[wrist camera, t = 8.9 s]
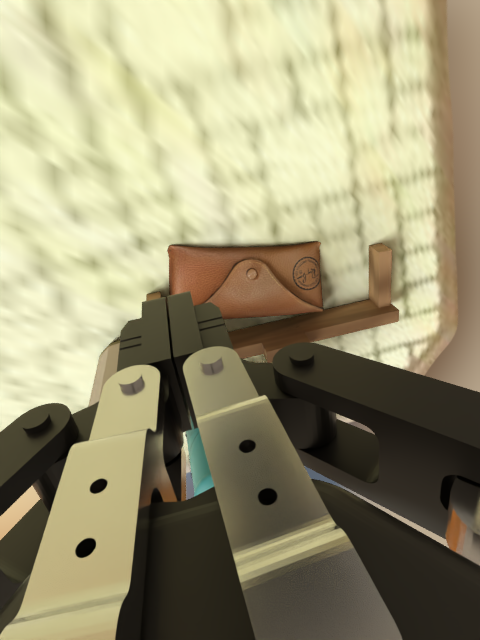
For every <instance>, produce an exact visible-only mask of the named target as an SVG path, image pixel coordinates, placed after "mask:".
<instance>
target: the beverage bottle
mask: <svg viewBox="0 0 480 640" xmlns="http://www.w3.org/2000/svg"><path fill="white" fill-rule="evenodd" d="M190 419H191V415H190ZM191 426H192V430H188V431H185V433H186V434H185V436H186V437H187V440H186V441H187V442H188V450H189V458H190V459H189V460H190V465H191V468H190V469H191V472H192V473H191V475H192V478H193V484H194V491H195V492H194V497H195V496H196V495H198V494H200V493H202V492H204V491H206V490H208V489H210V488H212V487H214V483H213V480H212V476H211V472H210V469H209V465H208V461H207V458H206V454H205V450H204V446H203V443H202V439H201V435H200V432H199V428H196V429H194V426H193V422H192V419H191ZM190 469H189V470H190Z"/></svg>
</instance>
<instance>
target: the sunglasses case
mask: <svg viewBox="0 0 480 640" xmlns="http://www.w3.org/2000/svg"><path fill="white" fill-rule="evenodd" d="M320 244H321V243H320V242H318V241H316V242H308V243H302V244H296V245H285V246H267V247H222V248H218V247H215V248H213V247H209V248H205V247H188V246H182V245H170V246H169V248H168V254H169V255H168V256H169V284H170V285H169V290H170V291H169V293H170V295H175V294H179V293H183V292H188V291H190V292H191V296H192V301H193V305H194V306H195V305H199V304H204V303H208V302H211V303H213V304H214V305H216V306H217V307H219V308H220V311H221V314H222V317H223V319H233V318H250V317H266V316H281V315H293V314H302V313H310V312H322V311H323V310H324V309H323V308H322V307H323V301H322V300H323V299H322V288H321V274H320V253H319V252H320V250H319V246H320Z"/></svg>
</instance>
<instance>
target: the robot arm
mask: <svg viewBox="0 0 480 640" xmlns="http://www.w3.org/2000/svg"><path fill="white" fill-rule="evenodd" d="M167 299H168V302H167ZM167 299H166V297H162V298H158V299H153V300H149V301H145V302H142V318H140V319H136V320H131V321H128V323H127V324H126V325H125V327H124V328H123V329H122V330H121V335H120V345H119V350H120V351H119V354H118V364H117V373H115V374H114V375H112V376H111V377H110V378H109V379H108V380H107V381H106V383H105V384H104V386H103V389H102V393H101V397H100V401H98V402H97V403H95V404H93V405H91V406H89V407H87V408H85V409H83V410H81V411H79V412H76V413H74V414H71V412H70V410H69V408H68V407H67V406H65V405H63V404H59V403H51V404H45V405H41V406H38V407H36V408H33V409H31V410H29V411H28V412H26V413H24V414H23V415H21V416H20V417H19V418H17V419H16V420H15V421H14V422H12V423H11V424H10V425H9V426H8V427H6V428H5V429H4V430H3V431H1V432H0V516H1V515H2V514H3V513H4V512H5V511H6V510H7V509H8V508H9V507H10V506H11V505H12V504H13V503H14V502H15V501H16V500H17V499H18V498H19V497H20V496H21V495H22V494H23V493H24V492H26V490H27V489H29V488H30V487H31V486H32V485H33V487H34V489H35V490H36V492H37V494H38V495H39V497H40V498H41V499H40V500H39V501H38V502H37V503H36V504H35V505H34V506H33V507H32V508H31V509H30V510H29V511H28V512H27V513H26V514H25V515H24V516H23V518H22V519H21V520H20V521H19V522H18V523H17V524H16V525H15V526H14V527H13V528H12V529H11V530H10V531H9V532H8V533H7V534H6V535H5V536H4V537H3V538H2V539H1V540H0V640H480V392H477V391H473V390H470V389H467V388H463V387H460V386H456V385H453V384H450V383H446V382H443V381H439V380H436V379H433V378H430V377H426V376H423V375H420V374H416V373H413V372H410V371H406V370H403V369H400V368H396V367H393V366H390V365H386V364H383V363H380V362H376V361H373V360H370V359H366V358H363V357H360V356H356V355H353V354H350V353H346V352H343V351H339V350H336V349H333V348H329V347H326V346H323V345H319V344H316V343H309V342H302V343H294V344H291V345H288V346H285V347H283V348H282V349H280V350H279V351H278V352H277V353H276V354H275V355H274V357H273V361H272V363H254V362H249V361H246V360H243V359H241V358H240V357H239V356H238V354H237V353H236V352H235V351H234V349H233V346H232V343H231V340H230V337H229V335H228V332H227V329H226V326H225V323H224V320H223V317H222V314H221V311H220V308H219V307H217V306H216V305H214V304H213V303H211V302H208V303H204V304H199V305H195V306H194V305H193V301H192V296H191V292H190V291H188V292H183V293H179V294H175V295H170V296H167ZM336 413H337V414H339V415H341V416H344V417H346V418H349V419H351V420H354V421H356V422H359V423H361V424H363V425H365V426H367V427H368V428H370V429H371V430H372V431H373V432H374V433H375V435H374V434H372V433H369V432H367V431H365V430H362V429H360V428H357V427H355V426H352V425H350V424H348V423H345V422H343V421H341V420H338V419H336ZM190 415H191V419H192V422H193V426H194V429H196V428H199V432H200V435H201V439H202V443H203V446H204V450H205V454H206V458H207V461H208V465H209V469H210V472H211V476H212V480H213V483H214V487H212V488H210V489H208V490H206V491H204V492H202V493H200V494H198V495H196V496H195V497H193V498H191V499H188V500H186V455H185V451H184V448H183V432H185V431H188V430H192V426H191V419H190ZM304 466H306V467H308V468H310V469H312V470H314V471H316V472H317V473H320V474H321V475H323V476H325V477H327V478H329V479H331V480H333V481H335V482H337V483H339V484H341V485H343V486H344V487H346V488H349V489H350V490H352V491H354V492H356V493H358V494H360V495H362V496H364V497H366V498H367V499H369V500H372V501H373V502H375V503H377V504H379V505H381V506H383V507H385V508H387V509H389V510H391V511H393V512H394V513H396V514H398V515H400V516H402V517H404V518H406V519H408V520H410V521H412V522H414V523H416V524H417V525H419V526H421V527H423V528H425V529H427V530H429V531H431V532H433V533H435V534H437V535H439V536H441V537H442V538H444V539H446V541H447V544H448V546H449V548H447V547H446V546H444V545H442V544H441V543H439V542H437V541H435V540H433V539H432V538H430V537H428V536H426V535H424V534H423V533H421V532H419V531H417V530H416V529H414V528H412V527H410V526H409V525H407V524H405V523H403V522H401V521H400V520H398V519H396V518H394V517H393V516H391V515H389V514H387V513H386V512H384V511H382V510H380V509H378V508H377V507H375V506H373V505H372V504H370V503H368V502H366V501H365V500H363V499H361V498H359V497H357V496H356V495H354V494H352V493H350V492H349V491H347V490H345V489H342V488H340V487H338V486H336V485H333V484H330V483H327V482H324V481H320V480H314V479H311V478H310V477H309V475H308V473H307V471H306V469H305V467H304Z"/></svg>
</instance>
